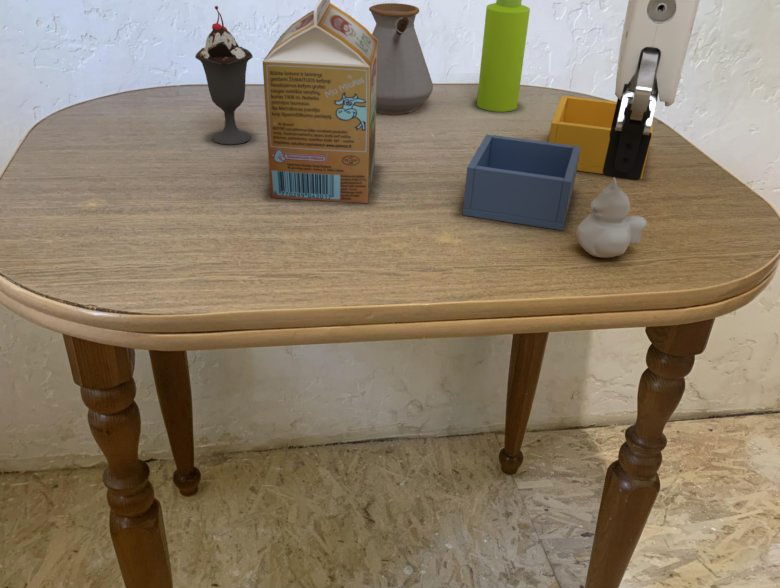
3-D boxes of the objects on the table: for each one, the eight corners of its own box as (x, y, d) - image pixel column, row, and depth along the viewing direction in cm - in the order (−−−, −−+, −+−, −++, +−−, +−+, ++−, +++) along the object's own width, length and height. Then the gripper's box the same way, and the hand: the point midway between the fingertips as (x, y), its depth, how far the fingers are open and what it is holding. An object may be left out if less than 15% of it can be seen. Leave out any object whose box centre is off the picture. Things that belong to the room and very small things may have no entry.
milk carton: (286, 162, 92) (278, -15, 81) (374, 166, 92) (378, -10, 80) (270, 197, 84) (259, 6, 72) (367, 203, 84) (371, 11, 72)
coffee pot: (351, 93, 115) (351, -20, 106) (427, 94, 116) (434, -17, 107) (354, 143, 98) (355, 15, 89) (444, 144, 99) (454, 17, 90)
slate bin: (572, 192, 88) (581, 146, 85) (562, 230, 80) (571, 181, 77) (481, 179, 90) (486, 134, 87) (462, 215, 82) (467, 166, 79)
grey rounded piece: (566, 241, 78) (581, 164, 73) (630, 241, 78) (649, 164, 74) (580, 266, 74) (597, 186, 69) (647, 266, 74) (668, 187, 69)
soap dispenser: (529, 110, 111) (551, -47, 99) (483, 112, 110) (500, -48, 98) (515, 98, 116) (535, -54, 104) (471, 100, 114) (486, -55, 102)
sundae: (230, 125, 102) (219, 0, 93) (268, 137, 99) (260, 9, 90) (193, 138, 97) (177, 8, 88) (231, 151, 94) (219, 18, 85)
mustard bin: (644, 147, 101) (654, 106, 97) (641, 179, 92) (652, 135, 89) (555, 135, 103) (561, 95, 100) (544, 166, 94) (551, 122, 91)
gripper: (732, -37, 52) (665, 200, 63) (720, -66, 66) (665, 134, 76) (620, -48, 54) (572, 186, 64) (630, -74, 67) (589, 123, 78)
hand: (623, 157), depth 70 cm, fingers open, 9 cm apart
